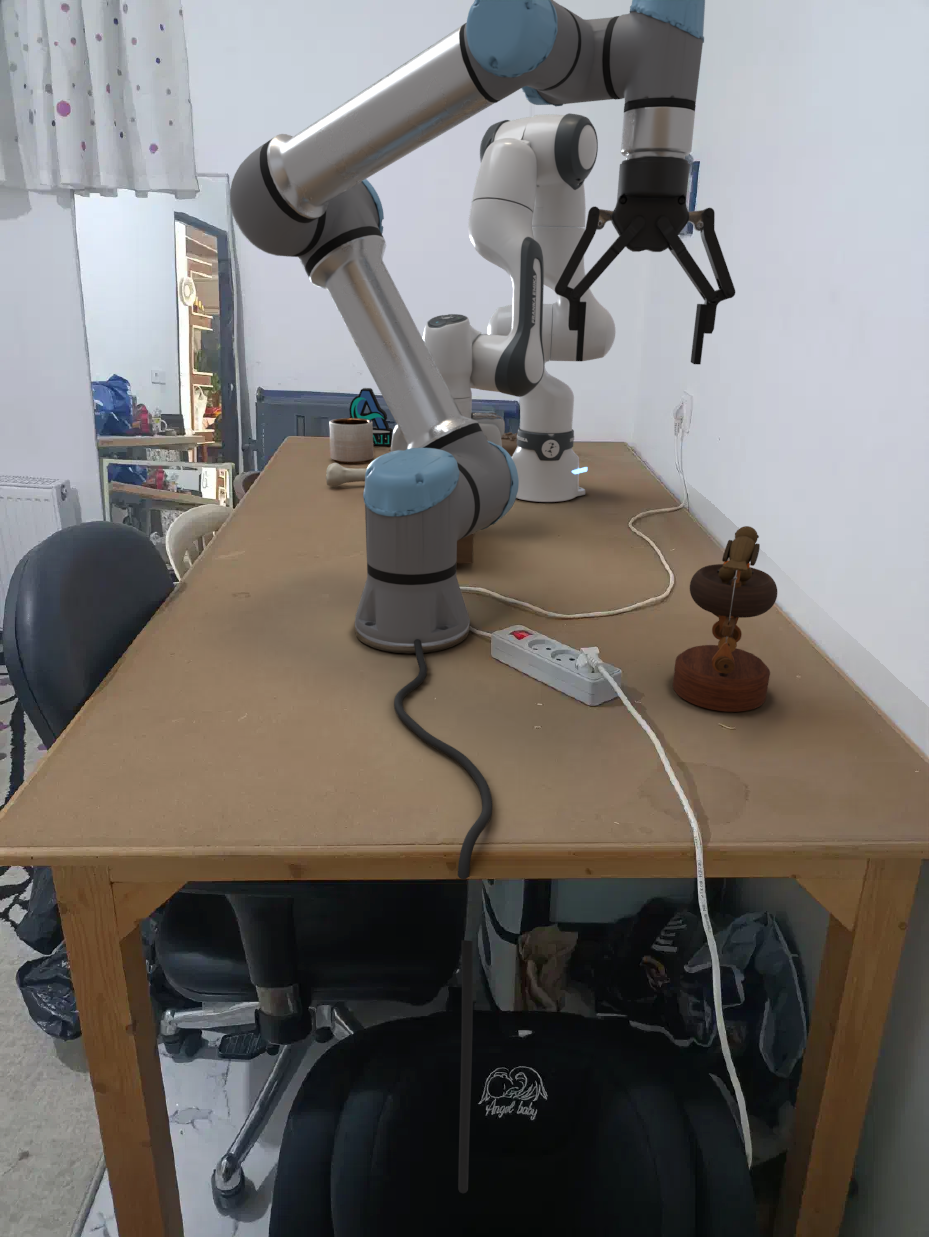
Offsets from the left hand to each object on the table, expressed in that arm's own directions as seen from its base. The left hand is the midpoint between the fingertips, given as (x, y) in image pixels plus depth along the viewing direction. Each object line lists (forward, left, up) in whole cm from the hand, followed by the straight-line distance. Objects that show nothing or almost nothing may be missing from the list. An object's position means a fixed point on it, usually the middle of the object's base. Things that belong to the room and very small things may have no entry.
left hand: (636, 362), depth 100 cm
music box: (-15, -11, -35) cm, 40 cm away
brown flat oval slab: (+116, +17, -35) cm, 123 cm away
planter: (+104, +59, -35) cm, 125 cm away
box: (+36, +26, -34) cm, 56 cm away
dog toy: (+77, +49, -35) cm, 98 cm away
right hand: (+45, +28, -27) cm, 60 cm away
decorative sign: (+124, +60, -35) cm, 142 cm away
